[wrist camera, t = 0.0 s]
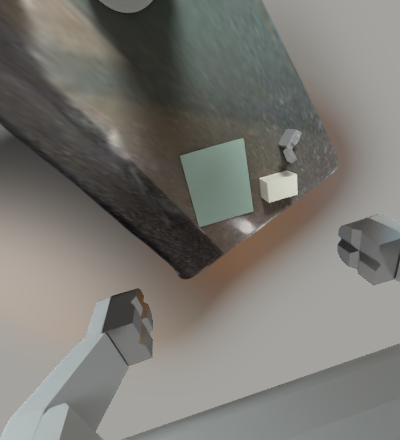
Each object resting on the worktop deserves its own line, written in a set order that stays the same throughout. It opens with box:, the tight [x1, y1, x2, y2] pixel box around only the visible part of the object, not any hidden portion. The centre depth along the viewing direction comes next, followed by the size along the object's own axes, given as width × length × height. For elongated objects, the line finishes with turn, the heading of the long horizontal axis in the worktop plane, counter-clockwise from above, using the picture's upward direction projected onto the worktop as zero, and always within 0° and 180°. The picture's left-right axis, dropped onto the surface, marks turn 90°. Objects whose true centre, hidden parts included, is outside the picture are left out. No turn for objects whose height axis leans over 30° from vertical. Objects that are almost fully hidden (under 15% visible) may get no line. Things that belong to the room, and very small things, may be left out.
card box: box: [259, 170, 298, 203], centre depth 59 cm, size 6×8×5 cm
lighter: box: [278, 129, 301, 163], centre depth 53 cm, size 7×2×8 cm, turn 156°
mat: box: [180, 138, 253, 227], centre depth 58 cm, size 20×16×1 cm
